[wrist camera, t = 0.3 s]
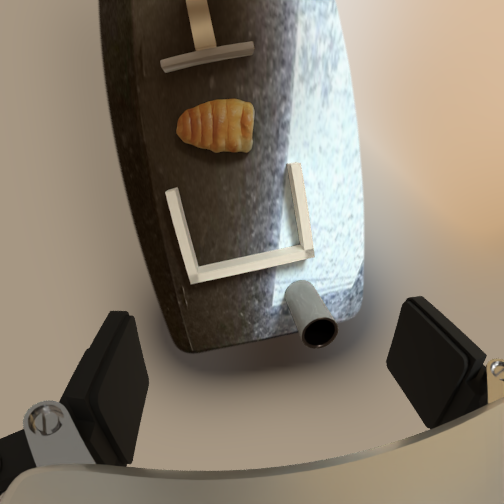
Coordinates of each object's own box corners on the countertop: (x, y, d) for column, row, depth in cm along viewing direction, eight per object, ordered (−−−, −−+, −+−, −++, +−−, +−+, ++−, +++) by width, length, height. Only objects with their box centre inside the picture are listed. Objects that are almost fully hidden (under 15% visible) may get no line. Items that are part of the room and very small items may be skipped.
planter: (281, 285, 43) (298, 324, 33) (311, 275, 42) (335, 312, 33) (288, 311, 44) (305, 353, 34) (317, 301, 44) (340, 341, 34)
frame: (168, 189, 37) (165, 192, 34) (295, 162, 37) (300, 163, 35) (192, 276, 41) (190, 284, 38) (309, 250, 41) (314, 257, 39)
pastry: (178, 153, 35) (173, 154, 32) (178, 101, 33) (173, 96, 30) (253, 152, 36) (256, 152, 33) (254, 100, 34) (257, 95, 30)
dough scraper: (153, 1, 27) (147, -12, 24) (234, -16, 28) (236, -30, 24) (165, 73, 31) (159, 65, 28) (252, 55, 32) (255, 45, 28)
